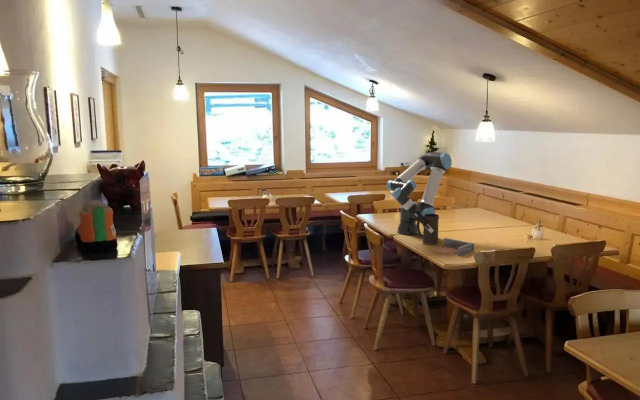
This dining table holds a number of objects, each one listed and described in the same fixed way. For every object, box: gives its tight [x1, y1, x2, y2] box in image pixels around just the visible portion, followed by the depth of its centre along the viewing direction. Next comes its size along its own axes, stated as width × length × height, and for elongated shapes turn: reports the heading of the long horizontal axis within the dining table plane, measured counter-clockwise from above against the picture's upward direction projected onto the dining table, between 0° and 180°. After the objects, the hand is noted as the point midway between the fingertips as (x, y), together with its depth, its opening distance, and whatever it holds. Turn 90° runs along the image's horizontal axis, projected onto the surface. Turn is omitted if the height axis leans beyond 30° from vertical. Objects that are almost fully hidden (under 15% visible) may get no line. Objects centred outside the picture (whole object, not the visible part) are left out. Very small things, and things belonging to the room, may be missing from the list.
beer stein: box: [416, 213, 440, 245], centre depth 352 cm, size 15×11×20 cm
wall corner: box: [443, 237, 475, 257], centre depth 335 cm, size 18×21×5 cm
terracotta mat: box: [433, 246, 458, 255], centre depth 334 cm, size 16×16×1 cm
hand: (432, 230), depth 352 cm, fingers closed on beer stein, 9 cm apart
